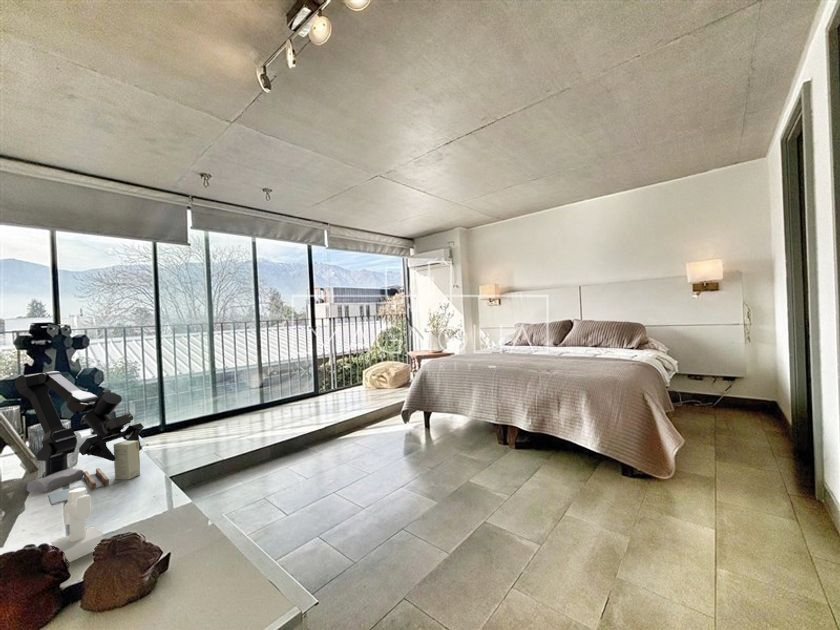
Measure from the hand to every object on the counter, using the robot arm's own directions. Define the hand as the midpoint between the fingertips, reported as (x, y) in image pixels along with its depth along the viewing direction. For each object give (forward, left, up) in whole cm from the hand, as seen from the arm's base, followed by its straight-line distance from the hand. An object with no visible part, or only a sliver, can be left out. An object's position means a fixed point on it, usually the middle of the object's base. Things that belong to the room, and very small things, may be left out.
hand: (127, 454), depth 124 cm
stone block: (-15, -17, -8) cm, 24 cm away
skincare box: (0, 0, -8) cm, 8 cm away
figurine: (+45, -18, -8) cm, 49 cm away
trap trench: (-5, -8, -8) cm, 12 cm away
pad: (+1, -15, -8) cm, 17 cm away
